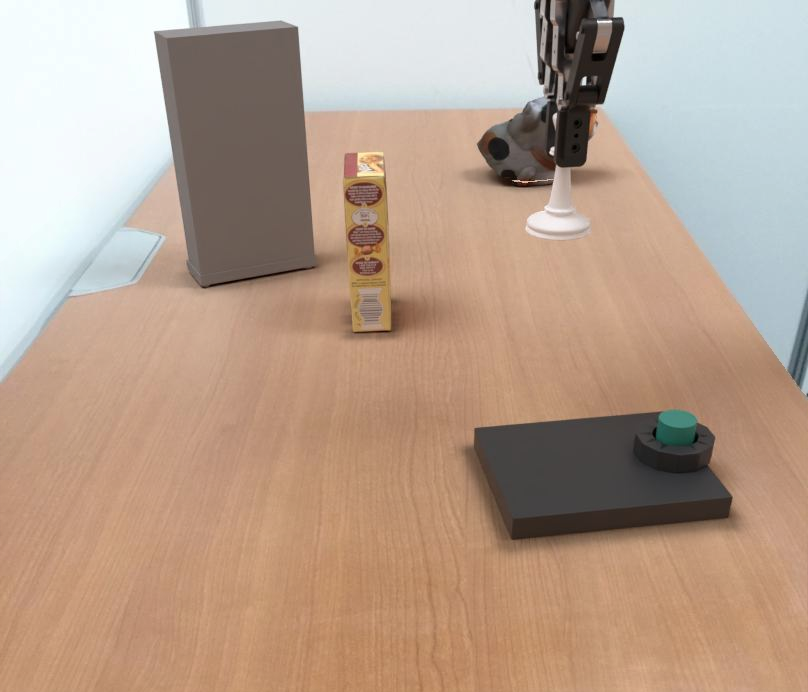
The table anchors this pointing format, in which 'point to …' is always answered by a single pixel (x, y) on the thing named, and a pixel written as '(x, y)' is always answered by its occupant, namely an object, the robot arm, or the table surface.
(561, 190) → the chess piece
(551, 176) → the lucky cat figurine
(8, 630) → the table surface
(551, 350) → the table surface
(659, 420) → the button
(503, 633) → the table surface
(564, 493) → the scale
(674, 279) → the table surface
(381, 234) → the candy box
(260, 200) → the gray rectangular block
